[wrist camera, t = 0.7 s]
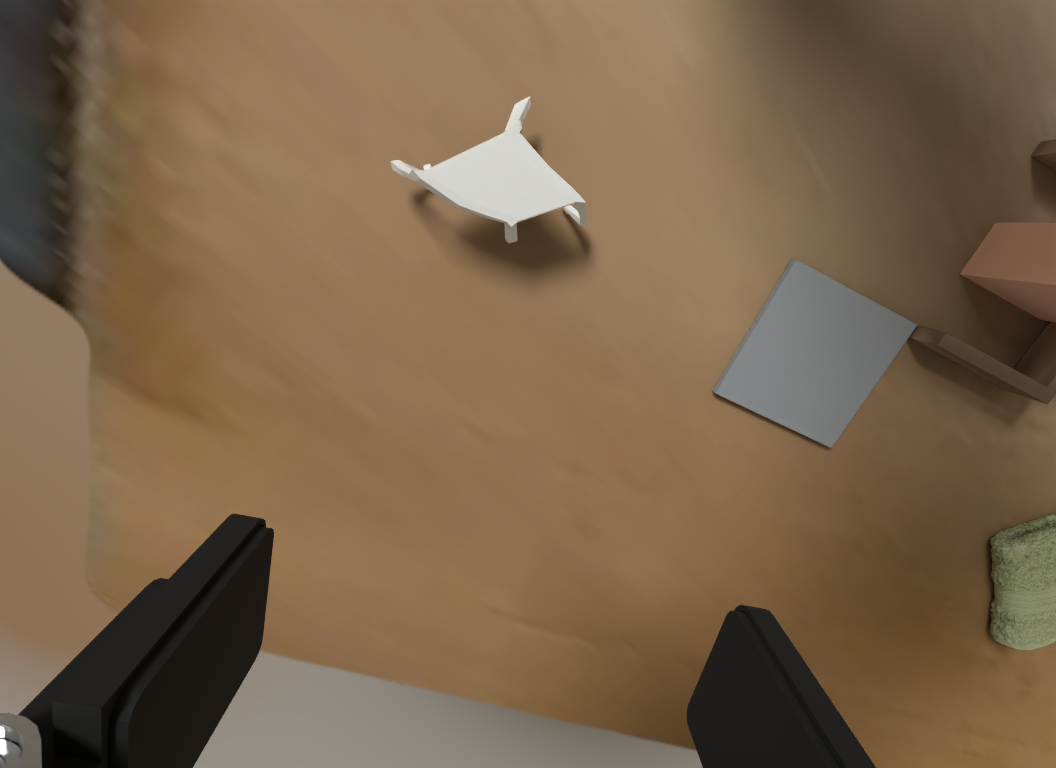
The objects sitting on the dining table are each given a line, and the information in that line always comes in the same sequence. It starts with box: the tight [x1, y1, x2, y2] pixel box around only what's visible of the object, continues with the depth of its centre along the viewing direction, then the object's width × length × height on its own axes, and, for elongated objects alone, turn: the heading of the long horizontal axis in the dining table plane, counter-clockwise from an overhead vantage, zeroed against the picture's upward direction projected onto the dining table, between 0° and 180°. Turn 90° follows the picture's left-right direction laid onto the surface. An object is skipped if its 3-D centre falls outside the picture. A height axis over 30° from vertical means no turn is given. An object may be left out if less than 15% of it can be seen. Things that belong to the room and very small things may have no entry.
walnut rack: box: [909, 140, 1056, 404], centre depth 36 cm, size 15×10×3 cm
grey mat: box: [713, 259, 917, 448], centre depth 39 cm, size 11×11×1 cm
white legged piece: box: [391, 96, 587, 243], centre depth 32 cm, size 12×8×5 cm
